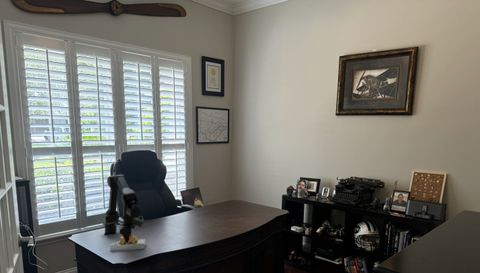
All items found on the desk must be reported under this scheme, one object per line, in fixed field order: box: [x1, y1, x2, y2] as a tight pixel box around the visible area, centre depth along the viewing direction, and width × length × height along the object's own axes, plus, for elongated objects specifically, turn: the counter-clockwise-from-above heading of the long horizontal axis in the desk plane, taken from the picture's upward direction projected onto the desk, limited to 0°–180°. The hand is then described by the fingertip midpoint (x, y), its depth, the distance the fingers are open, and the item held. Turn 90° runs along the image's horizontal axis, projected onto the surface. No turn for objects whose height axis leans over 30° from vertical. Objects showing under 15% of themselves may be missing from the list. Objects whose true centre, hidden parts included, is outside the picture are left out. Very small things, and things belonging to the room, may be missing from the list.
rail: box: [109, 238, 146, 252], centre depth 161 cm, size 18×7×3 cm, turn 102°
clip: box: [119, 235, 137, 244], centre depth 161 cm, size 8×3×6 cm, turn 102°
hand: (128, 240), depth 161 cm, fingers open, 5 cm apart
